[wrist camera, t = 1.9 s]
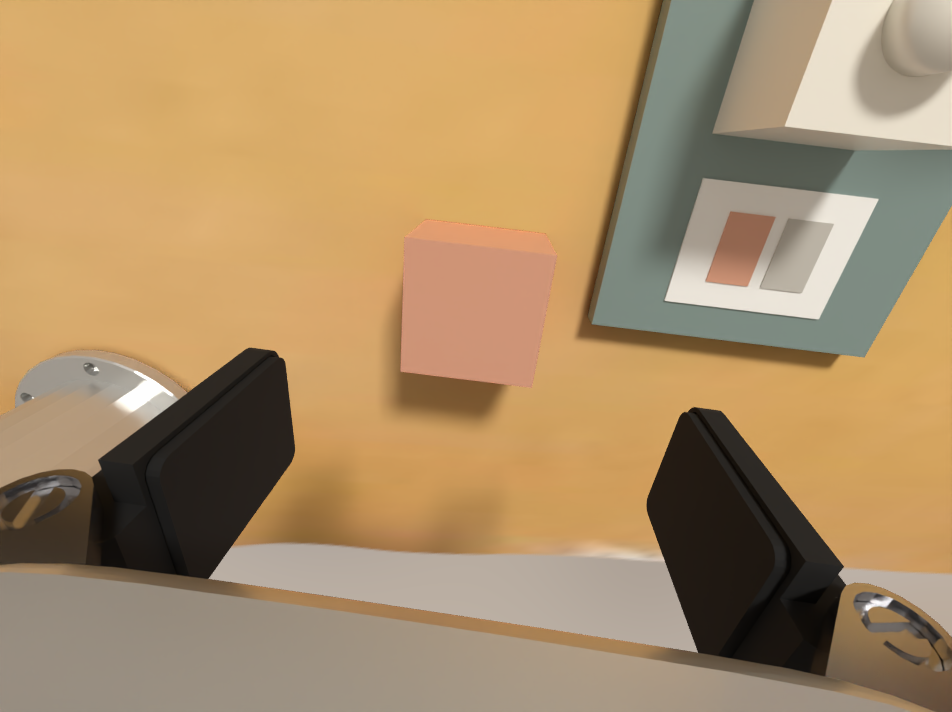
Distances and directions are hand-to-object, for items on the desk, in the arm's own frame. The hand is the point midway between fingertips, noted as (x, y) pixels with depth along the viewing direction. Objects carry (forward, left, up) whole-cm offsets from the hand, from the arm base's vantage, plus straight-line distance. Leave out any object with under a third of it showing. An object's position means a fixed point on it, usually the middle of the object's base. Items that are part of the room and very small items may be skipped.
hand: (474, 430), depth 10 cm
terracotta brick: (0, +1, -13) cm, 13 cm away
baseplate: (+7, -12, -13) cm, 19 cm away
